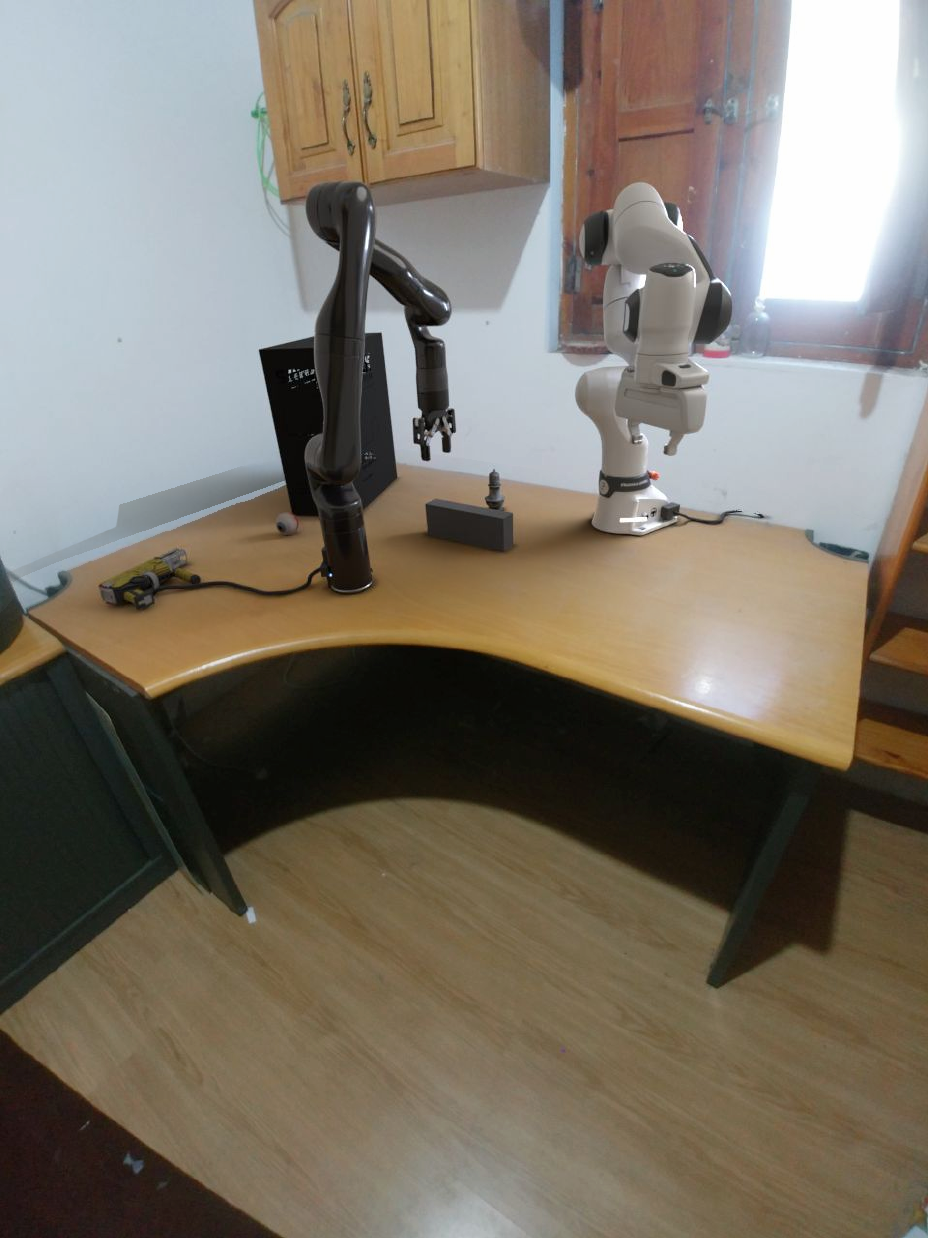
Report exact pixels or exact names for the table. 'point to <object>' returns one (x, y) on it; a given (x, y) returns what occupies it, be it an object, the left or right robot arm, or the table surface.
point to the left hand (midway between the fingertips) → (436, 456)
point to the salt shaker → (494, 492)
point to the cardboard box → (304, 418)
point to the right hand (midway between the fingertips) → (652, 449)
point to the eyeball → (287, 523)
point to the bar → (470, 524)
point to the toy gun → (146, 580)
